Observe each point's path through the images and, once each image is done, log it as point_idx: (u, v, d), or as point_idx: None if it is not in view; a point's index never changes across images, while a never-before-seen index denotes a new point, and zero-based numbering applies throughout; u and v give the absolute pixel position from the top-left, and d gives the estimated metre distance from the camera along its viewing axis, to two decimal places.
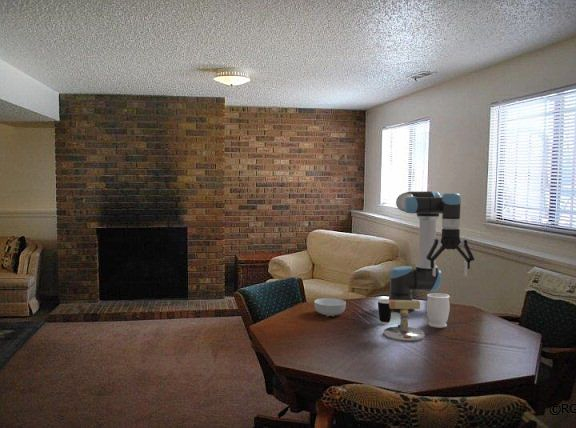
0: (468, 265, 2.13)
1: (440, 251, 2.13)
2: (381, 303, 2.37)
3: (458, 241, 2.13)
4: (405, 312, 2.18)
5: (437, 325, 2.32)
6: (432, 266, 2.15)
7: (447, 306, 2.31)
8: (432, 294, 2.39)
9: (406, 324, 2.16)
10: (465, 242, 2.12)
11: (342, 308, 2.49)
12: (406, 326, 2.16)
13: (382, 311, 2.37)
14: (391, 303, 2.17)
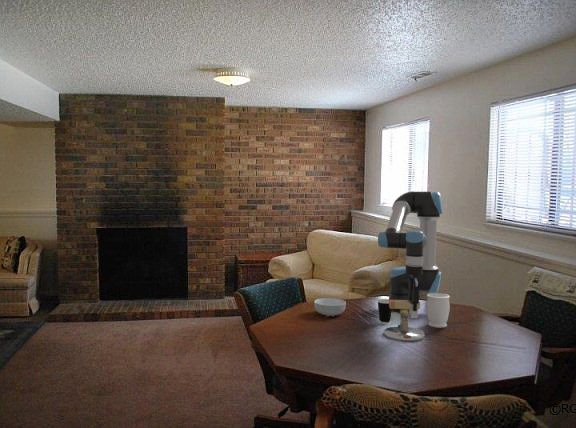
0: (413, 307, 2.16)
1: (410, 288, 2.21)
2: (381, 303, 2.37)
3: (412, 279, 2.15)
4: (405, 312, 2.18)
5: (437, 325, 2.32)
6: None
7: (447, 306, 2.31)
8: (432, 294, 2.39)
9: (406, 324, 2.16)
10: (413, 284, 2.13)
11: (342, 308, 2.49)
12: (406, 326, 2.16)
13: (382, 311, 2.37)
14: (391, 303, 2.17)
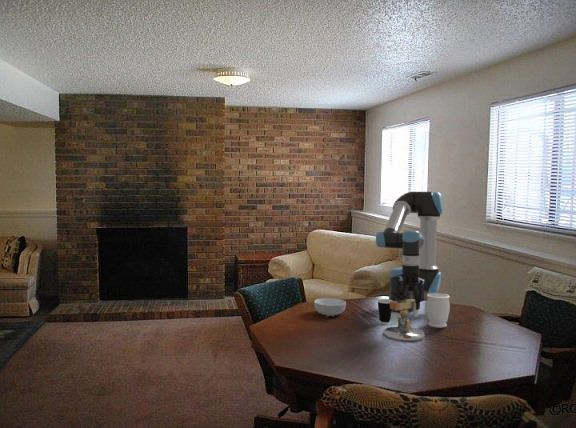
0: (417, 306, 2.18)
1: (404, 288, 2.22)
2: (381, 303, 2.37)
3: (415, 278, 2.17)
4: (407, 312, 2.18)
5: (437, 325, 2.32)
6: None
7: (447, 306, 2.31)
8: (432, 294, 2.39)
9: (409, 324, 2.17)
10: (420, 282, 2.15)
11: (342, 308, 2.49)
12: (409, 326, 2.17)
13: (382, 311, 2.37)
14: (396, 305, 2.14)
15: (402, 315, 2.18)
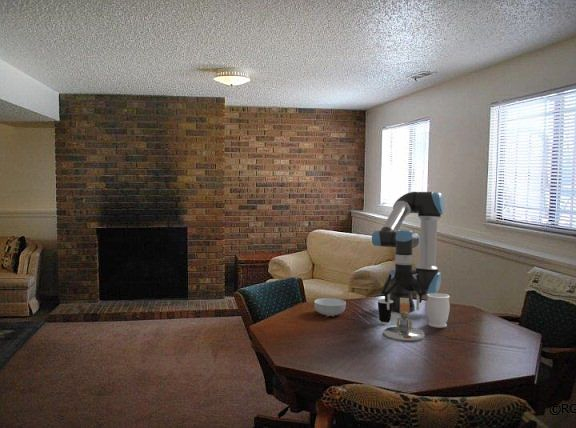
0: (420, 299, 2.22)
1: (393, 285, 2.22)
2: (381, 303, 2.37)
3: (410, 276, 2.21)
4: (408, 311, 2.19)
5: (437, 325, 2.32)
6: (386, 300, 2.23)
7: (447, 306, 2.31)
8: (432, 294, 2.39)
9: (411, 322, 2.19)
10: (417, 277, 2.21)
11: (342, 308, 2.49)
12: (411, 324, 2.19)
13: (382, 311, 2.37)
14: (409, 306, 2.13)
15: (405, 315, 2.18)
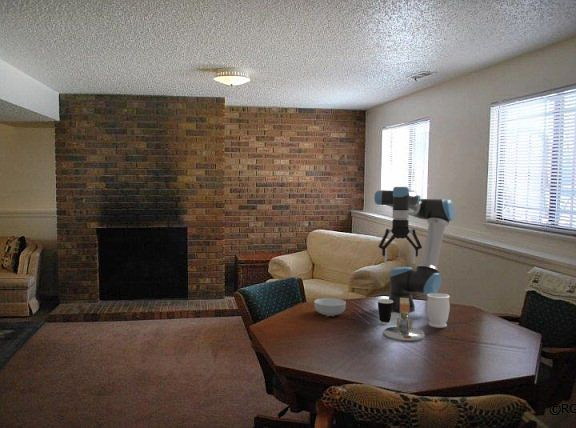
0: (416, 253, 2.32)
1: (391, 240, 2.32)
2: (381, 303, 2.37)
3: (407, 231, 2.31)
4: (408, 311, 2.19)
5: (437, 325, 2.32)
6: (383, 254, 2.33)
7: (447, 306, 2.31)
8: (432, 294, 2.39)
9: (411, 322, 2.19)
10: (413, 232, 2.31)
11: (342, 308, 2.49)
12: (411, 324, 2.19)
13: (382, 311, 2.37)
14: (409, 306, 2.13)
15: (405, 315, 2.18)
